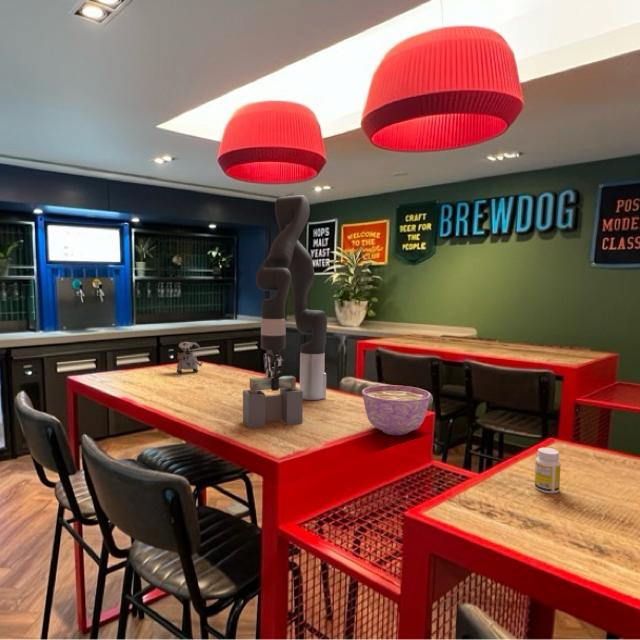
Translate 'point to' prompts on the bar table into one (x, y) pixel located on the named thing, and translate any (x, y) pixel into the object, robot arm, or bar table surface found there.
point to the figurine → (188, 357)
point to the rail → (265, 383)
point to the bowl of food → (395, 407)
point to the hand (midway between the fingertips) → (272, 388)
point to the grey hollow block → (272, 407)
